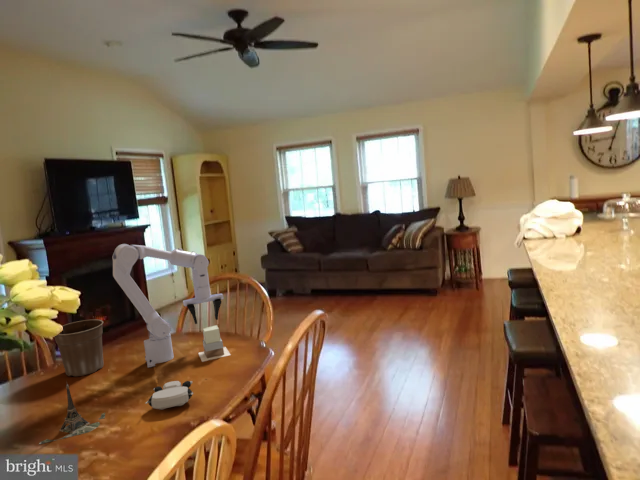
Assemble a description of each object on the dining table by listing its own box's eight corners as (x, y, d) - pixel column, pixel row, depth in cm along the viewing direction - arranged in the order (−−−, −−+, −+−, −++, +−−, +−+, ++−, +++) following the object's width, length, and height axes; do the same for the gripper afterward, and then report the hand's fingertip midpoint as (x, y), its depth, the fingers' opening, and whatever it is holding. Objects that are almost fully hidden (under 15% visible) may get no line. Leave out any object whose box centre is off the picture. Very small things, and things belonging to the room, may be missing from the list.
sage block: (206, 344, 162) (204, 331, 162) (204, 340, 167) (202, 328, 166) (220, 340, 164) (218, 328, 163) (218, 337, 169) (216, 325, 168)
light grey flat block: (206, 351, 162) (205, 344, 162) (203, 346, 167) (202, 339, 167) (223, 347, 164) (222, 340, 164) (220, 342, 170) (219, 336, 169)
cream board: (202, 363, 160) (202, 361, 160) (198, 354, 169) (198, 352, 169) (231, 357, 163) (230, 354, 163) (225, 348, 173) (225, 346, 173)
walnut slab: (207, 358, 162) (206, 351, 162) (204, 353, 168) (203, 346, 167) (224, 354, 164) (223, 347, 164) (221, 349, 170) (220, 342, 170)
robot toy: (153, 397, 139) (146, 417, 124) (151, 383, 139) (144, 401, 124) (195, 389, 142) (194, 408, 127) (193, 375, 142) (191, 392, 127)
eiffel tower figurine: (37, 447, 116) (28, 397, 114) (45, 428, 125) (36, 381, 124) (103, 430, 121) (95, 382, 119) (106, 414, 130) (98, 368, 129)
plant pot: (115, 368, 163) (108, 324, 161) (63, 384, 154) (55, 337, 152) (104, 357, 176) (97, 316, 174) (56, 371, 167) (48, 328, 165)
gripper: (182, 291, 166) (187, 327, 168) (223, 284, 171) (227, 319, 173) (180, 287, 173) (185, 323, 174) (219, 281, 178) (224, 315, 180)
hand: (206, 321), depth 174 cm, fingers open, 7 cm apart
